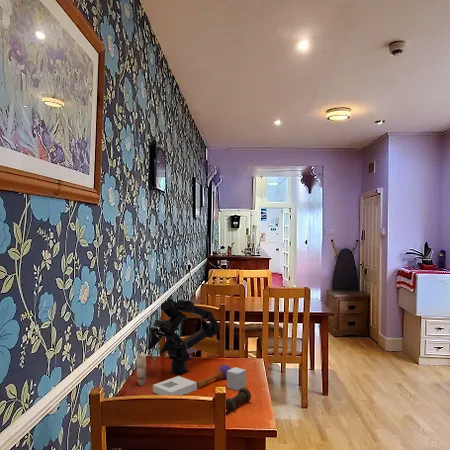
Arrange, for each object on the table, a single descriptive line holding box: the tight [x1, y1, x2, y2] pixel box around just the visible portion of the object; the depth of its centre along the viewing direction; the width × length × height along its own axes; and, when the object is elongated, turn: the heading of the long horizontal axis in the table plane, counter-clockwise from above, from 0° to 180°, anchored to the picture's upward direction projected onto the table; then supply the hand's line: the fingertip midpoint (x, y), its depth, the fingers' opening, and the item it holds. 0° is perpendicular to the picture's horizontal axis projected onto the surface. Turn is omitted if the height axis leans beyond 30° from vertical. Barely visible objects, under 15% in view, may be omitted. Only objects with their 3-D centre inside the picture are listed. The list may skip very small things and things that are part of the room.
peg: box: [136, 353, 147, 386], centre depth 180 cm, size 4×4×13 cm
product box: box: [226, 366, 247, 392], centre depth 174 cm, size 6×6×7 cm
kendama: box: [194, 364, 232, 390], centre depth 181 cm, size 6×6×20 cm
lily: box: [187, 347, 199, 359], centre depth 212 cm, size 12×12×10 cm
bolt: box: [225, 387, 252, 413], centre depth 155 cm, size 6×5×15 cm
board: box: [152, 375, 198, 396], centre depth 172 cm, size 14×12×3 cm
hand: (154, 351), depth 184 cm, fingers open, 9 cm apart
